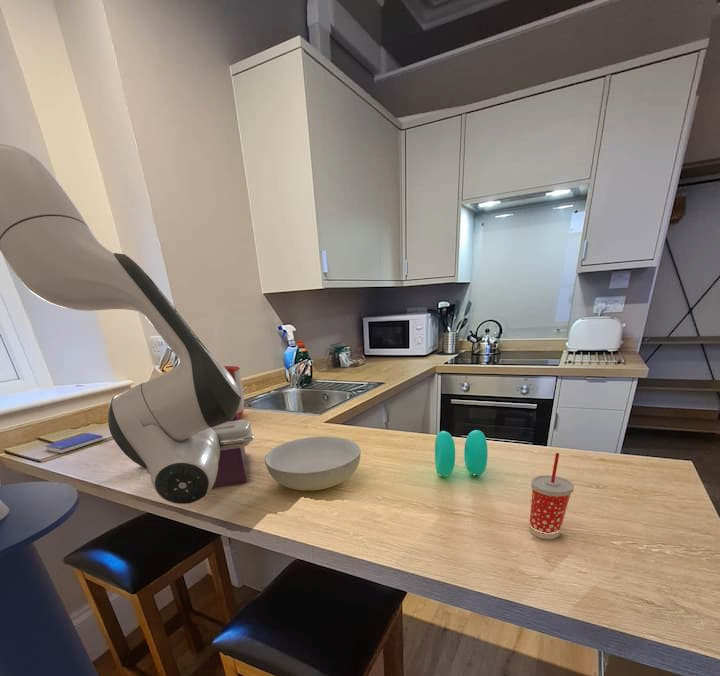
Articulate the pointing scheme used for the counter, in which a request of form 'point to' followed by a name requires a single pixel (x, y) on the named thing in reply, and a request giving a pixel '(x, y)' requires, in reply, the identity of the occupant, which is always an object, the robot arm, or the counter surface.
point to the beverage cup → (549, 503)
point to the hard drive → (74, 443)
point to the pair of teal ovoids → (472, 453)
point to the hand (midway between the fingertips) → (200, 426)
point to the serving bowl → (313, 462)
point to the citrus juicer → (236, 376)
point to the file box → (231, 467)
